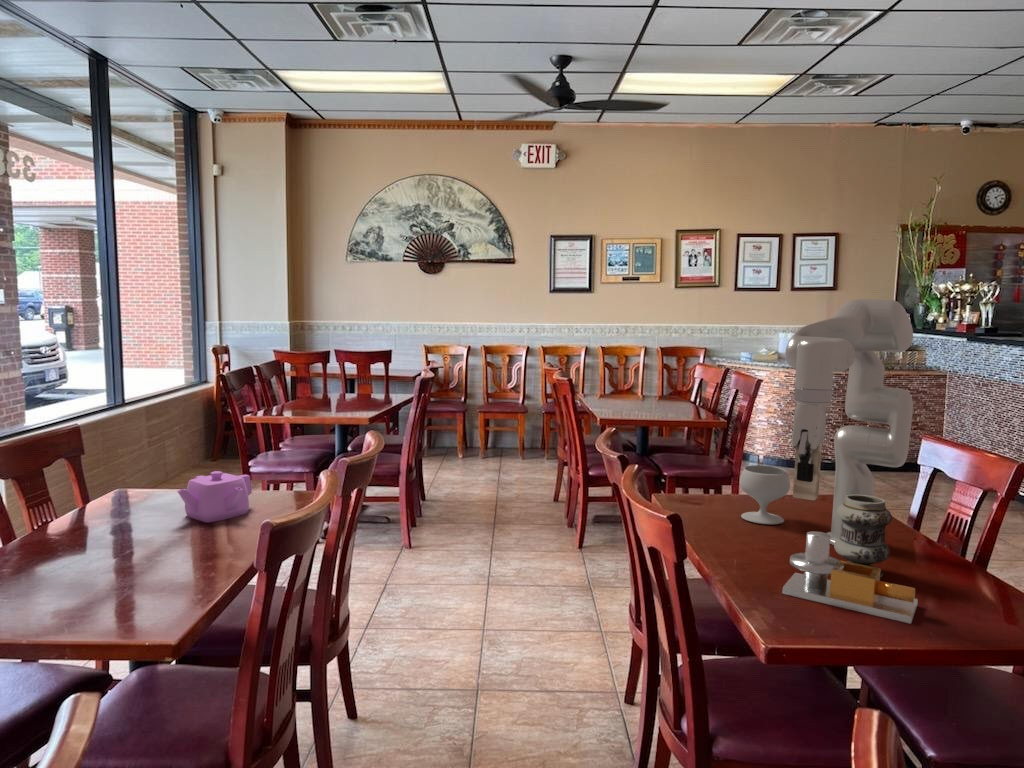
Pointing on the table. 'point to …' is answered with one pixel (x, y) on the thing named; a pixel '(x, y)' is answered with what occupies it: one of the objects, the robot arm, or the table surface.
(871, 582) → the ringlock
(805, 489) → the cream rectangular block
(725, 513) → the table surface
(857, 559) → the apothecary jar
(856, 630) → the table surface
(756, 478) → the chalice
